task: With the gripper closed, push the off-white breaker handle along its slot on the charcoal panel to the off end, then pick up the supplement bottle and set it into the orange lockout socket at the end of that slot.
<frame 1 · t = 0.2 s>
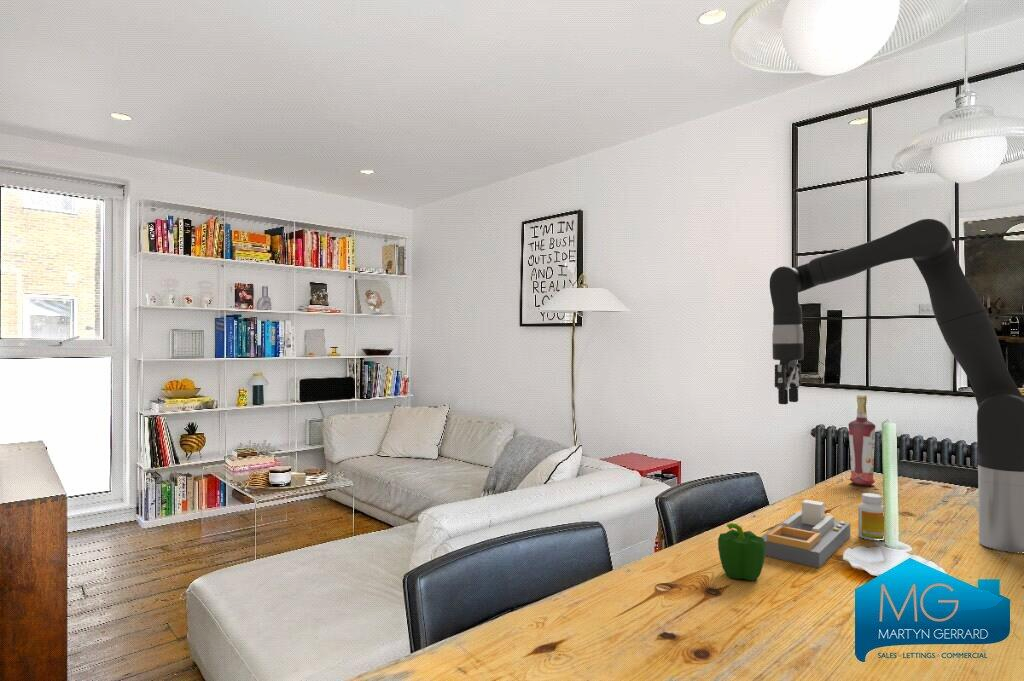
hand: (788, 403, 157), 28 cm above the table, tool pointing down, fingers open, 8 cm apart
breaker handle: (813, 512, 134), point 6 cm above the table, slide at 0.0 cm
bell pepper: (741, 577, 112), on the table
liquor: (862, 485, 186), on the table
supplement bottle: (872, 538, 134), on the table
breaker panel: (805, 544, 130), on the table
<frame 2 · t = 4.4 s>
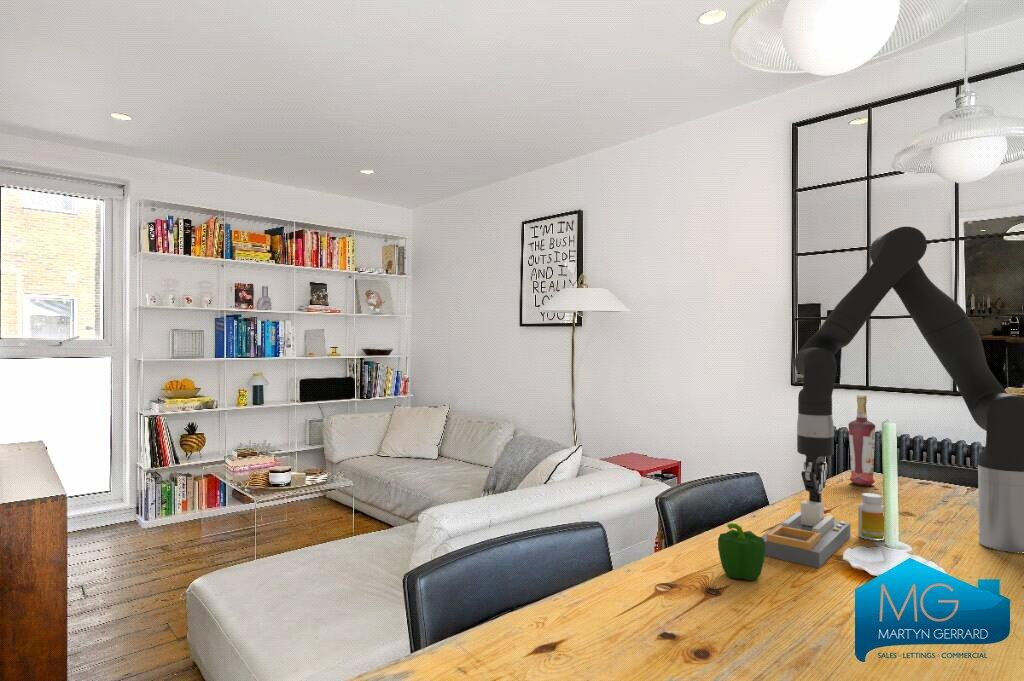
hand: (815, 508, 136), 6 cm above the table, tool pointing down, fingers closed
breaker handle: (812, 513, 134), point 6 cm above the table, slide at 0.8 cm, touching gripper
everything else where it was.
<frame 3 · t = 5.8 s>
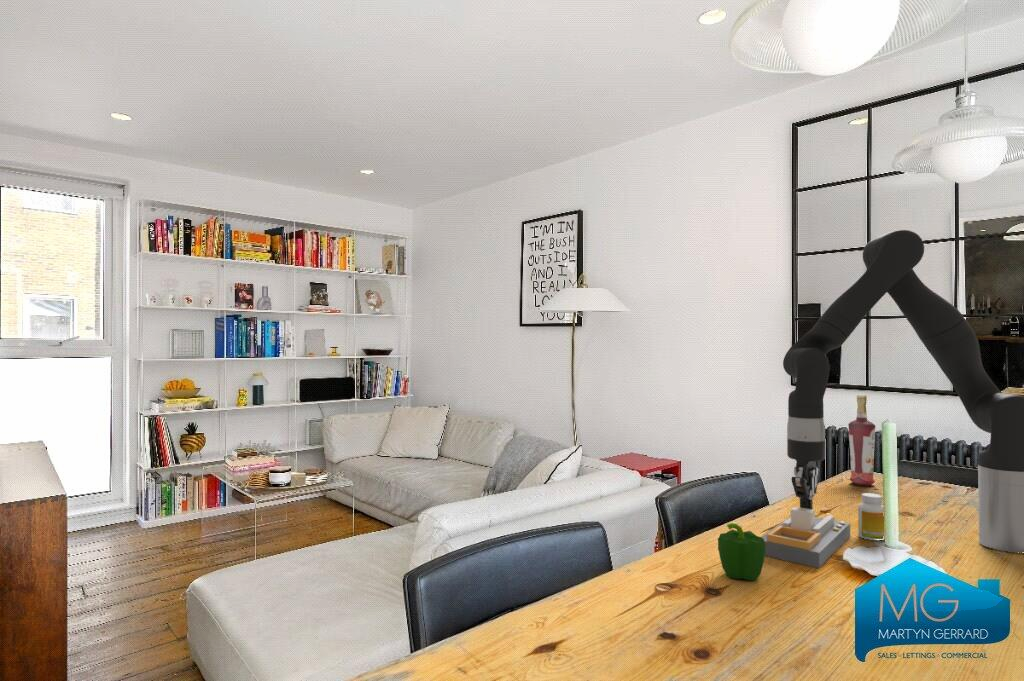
hand: (806, 515, 131), 6 cm above the table, tool pointing down, fingers closed
breaker handle: (802, 520, 128), point 6 cm above the table, slide at 8.1 cm, touching gripper
everything else where it was.
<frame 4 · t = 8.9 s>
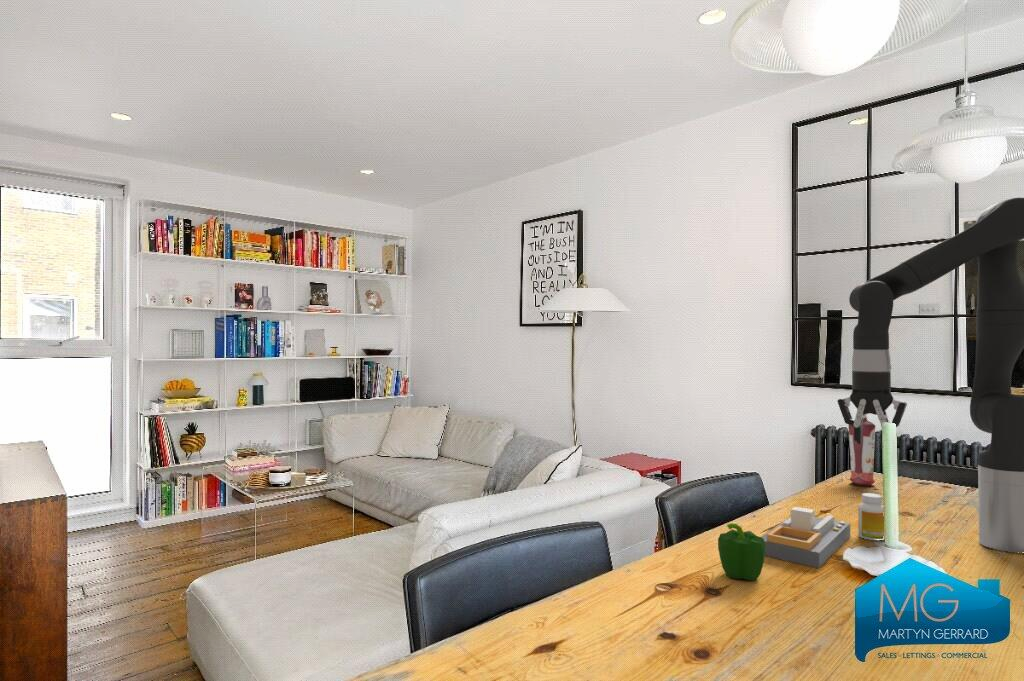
hand: (871, 444, 135), 21 cm above the table, tool pointing down, fingers open, 4 cm apart
breaker handle: (802, 520, 128), point 6 cm above the table, slide at 8.0 cm
everything else where it was.
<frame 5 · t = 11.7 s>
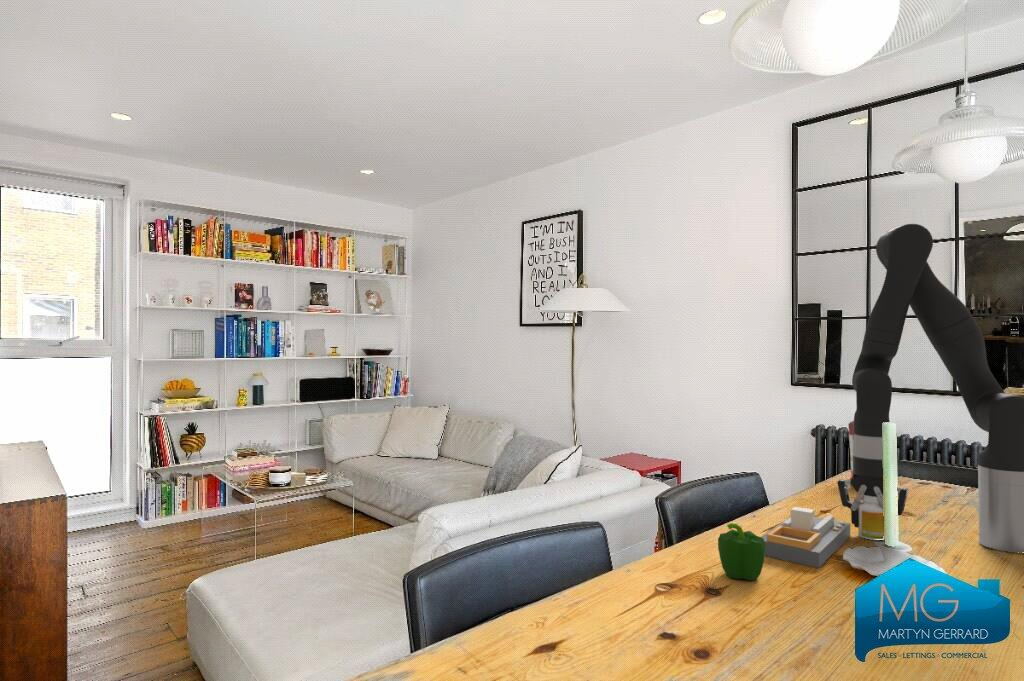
hand: (872, 528, 134), 2 cm above the table, tool pointing down, fingers closed on supplement bottle, 5 cm apart
supplement bottle: (872, 538, 134), on the table, touching gripper
everything else where it was.
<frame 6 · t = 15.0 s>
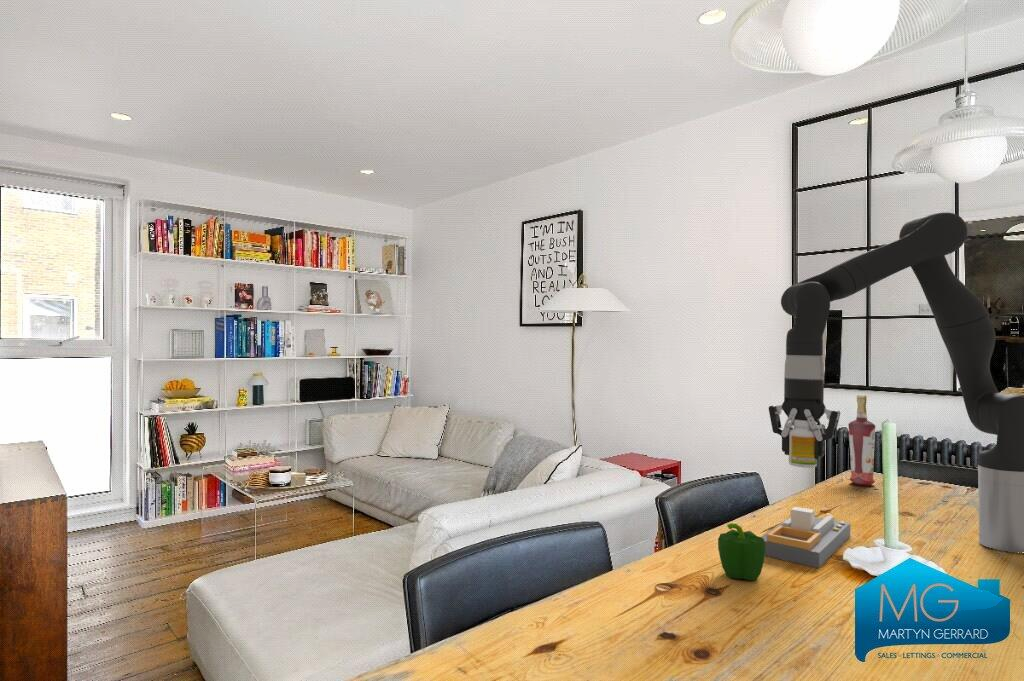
hand: (802, 456, 126), 20 cm above the table, tool pointing down, fingers closed on supplement bottle, 5 cm apart
supplement bottle: (802, 466, 126), point 18 cm above the table, touching gripper
everything else where it was.
when the fingers open (7 cm above the table, at t = 18.3 s): supplement bottle drops 2 cm, resting on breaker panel.
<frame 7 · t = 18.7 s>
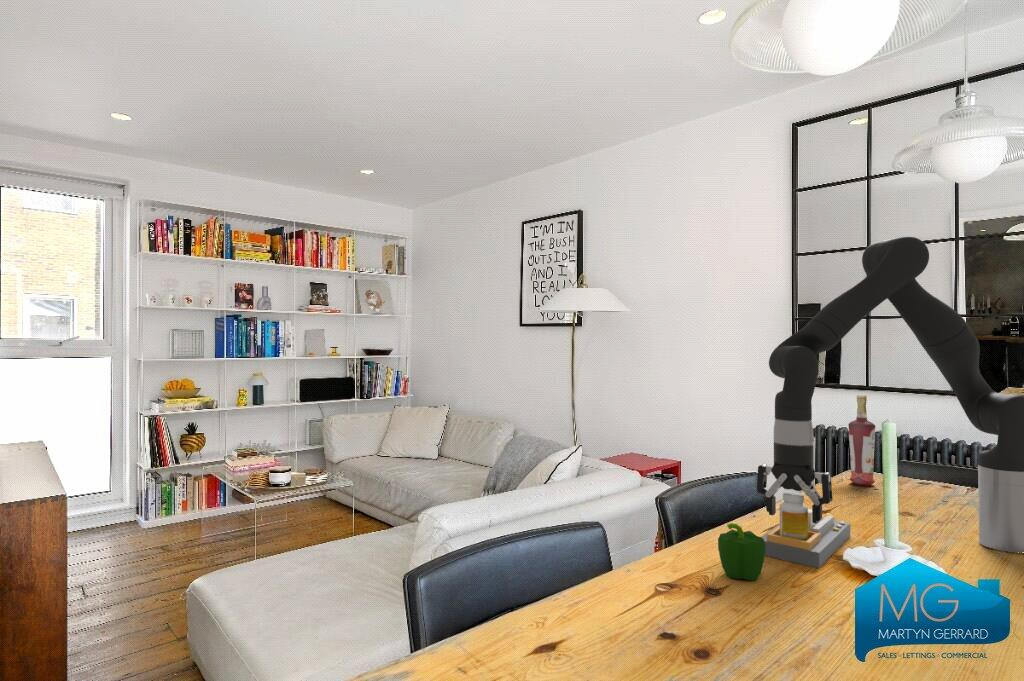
hand: (793, 518, 124), 8 cm above the table, tool pointing down, fingers open, 8 cm apart
supplement bottle: (793, 541, 124), point 3 cm above the table, touching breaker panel
everything else where it was.
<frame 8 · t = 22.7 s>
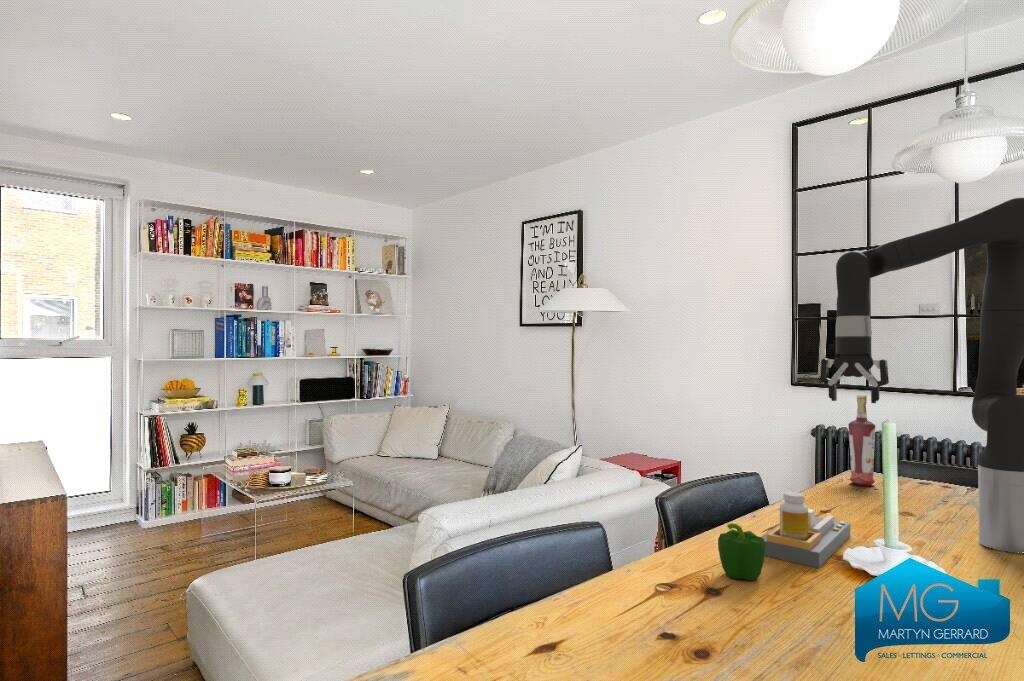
hand: (853, 401, 143), 30 cm above the table, tool pointing down, fingers open, 8 cm apart
nothing on the table moved.
at the end: breaker handle slide at 8.0 cm; supplement bottle 0.1 cm from the target spot on the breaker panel, point 2.8 cm above the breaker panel's base; supplement bottle tilted 0° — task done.
